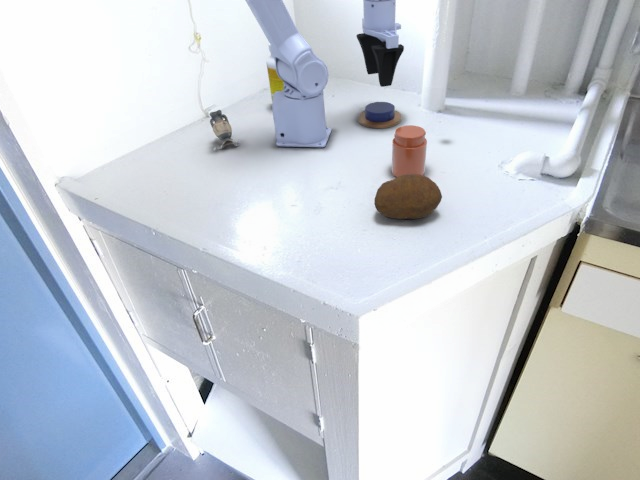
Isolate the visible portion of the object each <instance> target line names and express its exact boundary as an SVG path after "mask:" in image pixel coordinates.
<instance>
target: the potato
mask: <svg viewBox="0 0 640 480" xmlns="http://www.w3.org/2000/svg"><path fill="white" fill-rule="evenodd" d="M441 191H442V190H441V189H440V188H439V186H438V185H437V183H436V182H435V181H434V180H432V179H431V178H430V177H428V176H425V175H418V174H404V175H401V176H399V177H395V178H393V179H391V180H387V181H385V182H383V183H382V184H380V186H379V187H378V189H377V190H376V193H375V197H374V203H373V204H374V207H375V209H376V212H378V213H380V214H381V216H384V217H387V218H390V219H396V220H397V219H398V220H404V219H405V220H407V219H412V220H417V219H423V218H425V217H427V216H429V215H431V214H432V213H433V212H434V211H435V210H436V209H437V208H438V206H440V204H441V202H442V198H443V195H442V192H441Z"/></svg>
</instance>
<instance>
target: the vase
mask: <svg viewBox="0 0 640 480" xmlns="http://www.w3.org/2000/svg"><path fill="white" fill-rule="evenodd" d="M209 116H210V119H209V123H210V126H211V128H212V131H213V133H214V135H215V137H216V138H217V139H219V140H220V141H222V144H221V145H216V146H215V147H213V148H212V149H213V151H214V152H216V150H223V149H224V147H226V146H228V145H233V146H236V147H238V146H239V145H240V144H241V143H240V141H239V140H238V139H235V140H234V139H233V138H232V135H233V130H232V126H231V124H230V122H229V119H228V117H227V115H226V114H223V112H222V109H218V110H216V111H210V112H209ZM213 146H214V145H213Z"/></svg>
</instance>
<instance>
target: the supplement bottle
mask: <svg viewBox="0 0 640 480" xmlns="http://www.w3.org/2000/svg"><path fill="white" fill-rule="evenodd" d="M270 46H271V45H270V43H269V42H268V50H269V52H270ZM265 63H266V69H267V76H268V83H269V90H270V97H271V101H272V100H273V95H274V93H275V92H276V91H283V87H284V82H283V80H281V79H280V77H279V76H278V74H277V72H276V68H275V61H274V58H273V55H272V54H271V53H270V55H269V56H268V58H267V59H266V62H265Z"/></svg>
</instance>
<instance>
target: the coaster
mask: <svg viewBox="0 0 640 480" xmlns="http://www.w3.org/2000/svg"><path fill="white" fill-rule="evenodd" d="M402 119H403V117H402V114H401V112H399V111H398V110H395V116H394V118H393V119H392V120H390V121H387V122H372V121H369V120H367V119H366V118H365V110H364V111H362V112H360V113H359V114H358V115H357V122H358V123H359V124H360V125H361V126H363V127H365V128H370V129H387V128H392V127H395V126H397V125H399V124H400V123H401V122H402Z"/></svg>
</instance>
